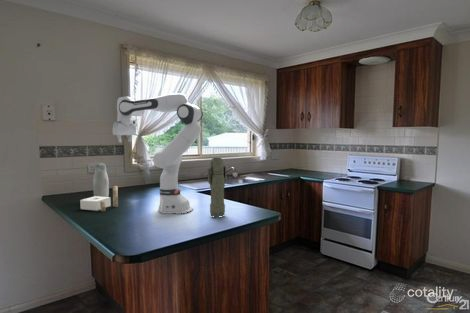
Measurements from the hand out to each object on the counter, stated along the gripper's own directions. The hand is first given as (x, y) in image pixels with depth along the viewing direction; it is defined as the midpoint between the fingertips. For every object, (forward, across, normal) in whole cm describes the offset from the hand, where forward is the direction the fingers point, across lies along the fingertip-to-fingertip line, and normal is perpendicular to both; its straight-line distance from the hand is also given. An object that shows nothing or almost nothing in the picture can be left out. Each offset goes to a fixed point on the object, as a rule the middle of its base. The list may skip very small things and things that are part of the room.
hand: (125, 142), depth 195 cm
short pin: (+44, -14, +7) cm, 47 cm away
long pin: (+44, -2, +7) cm, 45 cm away
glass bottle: (+44, +10, +29) cm, 54 cm away
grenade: (+44, -5, -68) cm, 81 cm away
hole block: (+44, -8, +18) cm, 49 cm away
